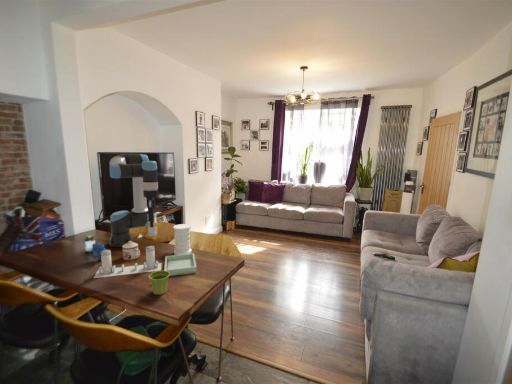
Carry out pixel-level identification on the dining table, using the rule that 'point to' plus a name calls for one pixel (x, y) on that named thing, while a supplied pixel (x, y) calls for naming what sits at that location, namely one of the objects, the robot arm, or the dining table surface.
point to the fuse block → (109, 271)
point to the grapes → (97, 250)
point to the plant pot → (159, 281)
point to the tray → (180, 264)
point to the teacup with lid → (130, 251)
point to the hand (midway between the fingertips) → (152, 230)
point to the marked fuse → (155, 226)
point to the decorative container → (182, 239)
